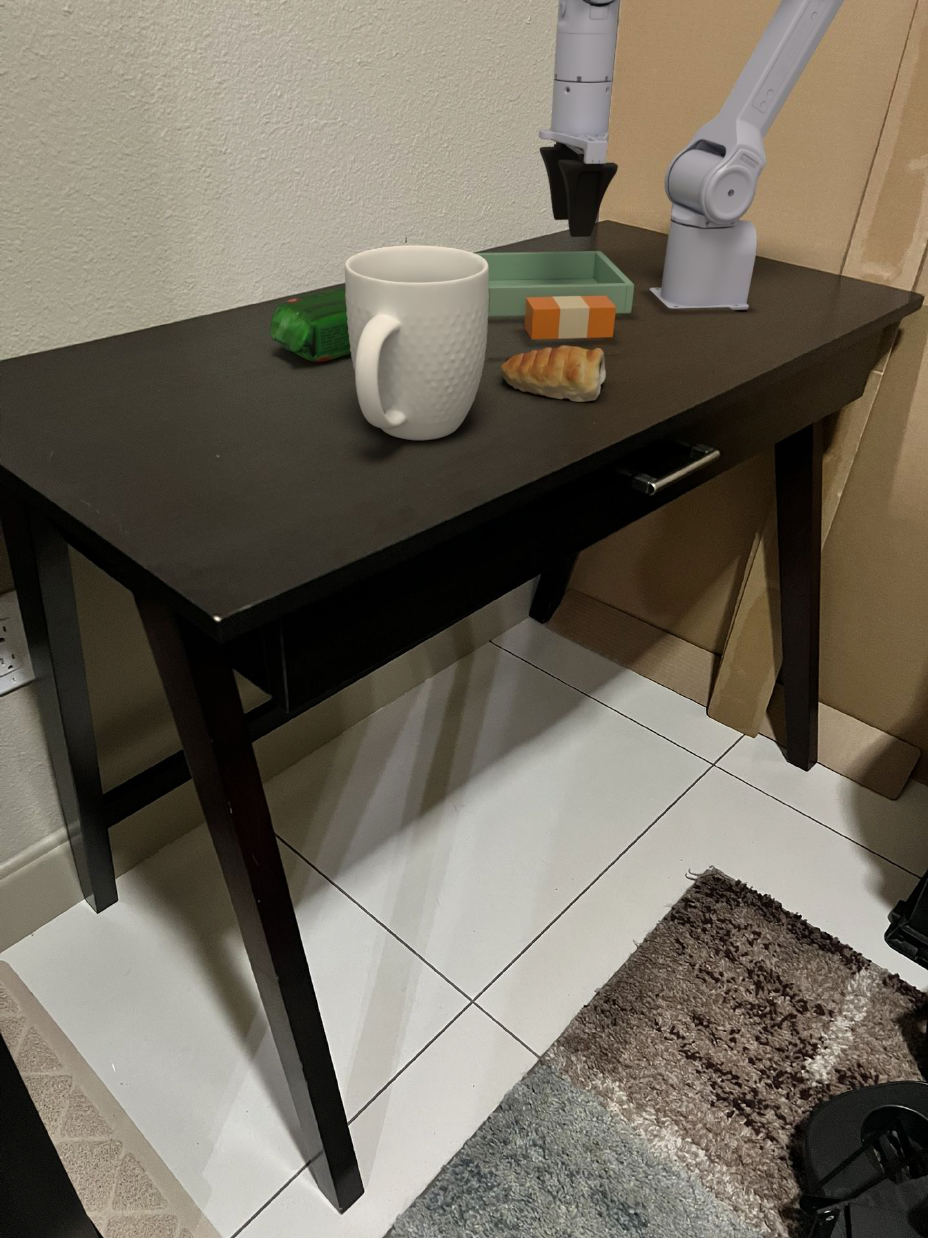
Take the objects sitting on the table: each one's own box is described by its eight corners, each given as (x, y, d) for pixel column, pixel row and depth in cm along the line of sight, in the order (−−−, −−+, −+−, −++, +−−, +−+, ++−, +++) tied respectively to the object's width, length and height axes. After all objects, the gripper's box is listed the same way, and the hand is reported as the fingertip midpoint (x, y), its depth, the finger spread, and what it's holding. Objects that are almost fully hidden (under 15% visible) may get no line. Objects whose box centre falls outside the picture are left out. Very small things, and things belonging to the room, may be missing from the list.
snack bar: (602, 329, 98) (606, 294, 96) (612, 342, 95) (616, 306, 93) (524, 332, 97) (525, 296, 95) (531, 344, 94) (533, 308, 92)
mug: (436, 484, 68) (435, 305, 61) (305, 458, 71) (289, 285, 64) (503, 411, 80) (509, 253, 72) (388, 392, 83) (382, 238, 75)
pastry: (494, 395, 83) (496, 353, 80) (507, 369, 88) (509, 329, 86) (599, 405, 81) (604, 362, 79) (606, 378, 87) (610, 338, 84)
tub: (598, 281, 113) (601, 250, 111) (630, 318, 102) (634, 284, 100) (464, 284, 112) (464, 252, 109) (481, 321, 100) (482, 287, 98)
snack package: (430, 340, 95) (429, 288, 92) (300, 373, 86) (295, 317, 83) (387, 323, 99) (386, 273, 96) (260, 353, 90) (254, 299, 88)
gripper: (528, 72, 96) (521, 212, 103) (559, 87, 84) (549, 244, 92) (594, 72, 96) (583, 211, 104) (634, 87, 85) (618, 243, 93)
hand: (571, 227), depth 98 cm, fingers open, 7 cm apart
